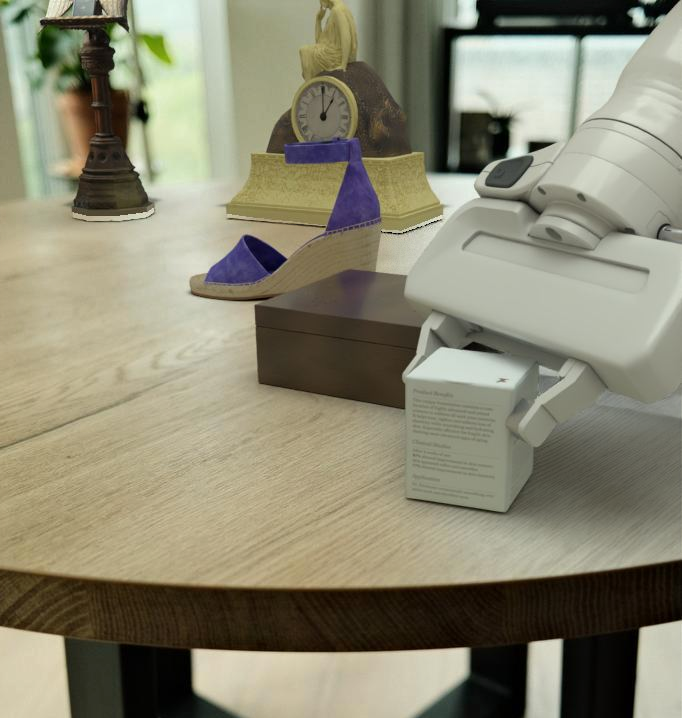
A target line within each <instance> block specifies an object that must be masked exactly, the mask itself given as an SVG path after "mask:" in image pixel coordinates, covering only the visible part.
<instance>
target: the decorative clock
mask: <svg viewBox="0 0 682 718" xmlns="http://www.w3.org/2000/svg"><path fill="white" fill-rule="evenodd" d="M318 1H319V5H320V7H319V10H318V12H317V13H316V15H315V16H316V17H315V25H314V26H315V27H314V39H315V43H314V44H311V43H310V44H304V45H301V46H300V47H299V50H298V54H299V58H300V66H301V76H302V78H303V80H304V82H303V83H302V85H301V86H299V88H298V90H297V91H296V92H295V95H294V97H293V100H292V103H291V107H290V108H289V109H287V110H286V111H284V113H283V114H282V115H280V117H279V118H278V120H277V121H276V123H275V124H274V126H273V128H272V131H271V133H270V138H269V140H268V145H267V147H266V150H262V151H257V152H251V153H250V169H249V175H248V178H247V179H246V182H245V183H244V185H243V187H242V188H241V190H240V191H239V192H238V193H236V194H235V196H233V198H232V199H231V200H230V201H229V202H227V203H225V213H226V214H232V215H239V216H246V217H253V218H264V219H271V220H282V221H293V222H301V223H308V224H318V225H327V224H328V221H329V219H330V216H331V213H332V210H333V207H334V204H335V201H336V198H337V195H338V193H339V190H340V187H341V184H342V181H343V178H344V175H345V171H346V168H347V165H348V162H336V163H335V164H286V163H285V153H284V145H285V144H290V143H300V142H311V140H312V139H313V138H331V137H340V139H341V140H343V139H353V138H358V140H359V142H360V146H361V152H362V162H363V164H364V167H365V169H366V172H367V174H368V177H369V179H370V182H371V184H372V186H373V188H374V190H375V192H376V194H377V196H378V200H379V204H380V216H381V219H382V229H385V230H399V231H402V230H404V229H407V228H409V227H412V226H415V225H417V224H420V223H422V222H425V221H428V220H430V219H433V218H435V217H438V216H440V215H443V216H444V204H443V203H441V200H440V199H439V197H438V196H437V194H436V193H435V192H434V191H433V189H432V187H431V185H430V182H429V179H428V178H427V174H426V166H425V152H422V151H421V152H420V151H413V149H412V146H411V140H410V137H409V132H408V116H407V115H406V113H405V112H404V110H403V108H402V107H401V106H400V104H399V103H398V102H397V101H396V100H395V99H394V98H393V95H392V94H391V92H390V90H389V89H388V88H387V85H386V84H385V83H384V81H383V79H382V77H381V76H380V74H378V73H377V72H376V71H375V70H374V69H373V68H372V67H371V66H370V65H369V64H368V63H367V62H366V61H364V60H363V61H362V60H357V59H358V57H357V56H358V50H359V49H358V48H359V47H358V43H359V42H358V41H359V40H358V33H357V24H356V22H355V18H354V16H353V13H352V11H351V9H350V8H349V7H348V6H347V5H346V4H345V3H344V2H343V1H342V0H318ZM328 9H329V11H330V12H329V16H328V17H327V19H326V22H325V27H324V29H323V27H322V21H323V19H324V18H325V15H326V12H327V10H328ZM325 142H327V141H325ZM226 214H225V215H226Z"/></svg>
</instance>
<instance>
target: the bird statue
mask: <svg viewBox="0 0 682 718" xmlns="http://www.w3.org/2000/svg"><path fill="white" fill-rule="evenodd" d="M128 4H129V0H49V1H48V6H47V10H46V15H45V16H42V17H40V18H39V24H40V28H39V30H38V32H37V36H40V33H41V32H43V30H45V29H46V28H47V27H48V26H59V27H58V29H59V31H60V32H61V31H63V30H69V31H73V30H74V31H80V30H81V31H84V33H83V37H82V47H80V48H78V50H77V53H78V54H79V55H80V58H81V66H82V67H81V68H82V69H83V70H85V71H87V72H88V73H89V75H88V76H89V78H90V81H91V90H92V91H91V92H92V100H93V102H92V104H91V107H92V108H93V110H94V122H95V128H96V130H95V131H96V132H95V133H94V135H95V136H92V138H90V141H89V142H88V143H89V147H90V148H89V151H88V154H87V157H86V160H85V164H84V167H82V168H81V173H80V174H79V176H78V179H79V181H78V184H77V191H76V195H75V198H74V199H73V201H72V202H73V205H72V206H71V207H70V208H71V213H72V212H74V213H78V214H82V215H86V216H120V215H128V214H136V213H143V212H148V211H149V210H151V209H152V208H154V207H155V208H156V204H155V202H154V201H150V200H149V195H148V193H147V192H146V191H145V186H143V182H142V179H140V175H141V173H140V172H138V171H136V170H135V169H136V166H135V165H133V163H132V162H131V160H130V157H129V156H128V154H127V151H126V150H125V148H124V146H123V140H122V139H121V138H120V137H119V136H116V133H115V132H114V131H113V128H112V126H113V124H112V122H113V121H112V117H113V114H112V109H113V108H114V107H115V105H114V104H113V103H112V102H111V94H112V93H111V91H110V88H109V86H110V85H109V78H110V73H109V72H111V71H114V69H115V67H116V64H115V60H114V55H115V54H116V49H115V48H114V47H112V46H110V43H111V38H110V36H109V34H107V32H106V31H107V30H108V24H109V25H110V24H112V25H115V23H116V24H118V26H120V27H121V28H122V29H124V30H125V31H126V32H127V34H129V33H130V26H129V21H128V13H127V12H128ZM71 8H72V9H71ZM70 10H71V12H70V14H69V15H68V16H64V15H65V14H66V13H67V12H69V11H70ZM103 12H104V13H105V14H106V15H105V14H104V13H103Z"/></svg>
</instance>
